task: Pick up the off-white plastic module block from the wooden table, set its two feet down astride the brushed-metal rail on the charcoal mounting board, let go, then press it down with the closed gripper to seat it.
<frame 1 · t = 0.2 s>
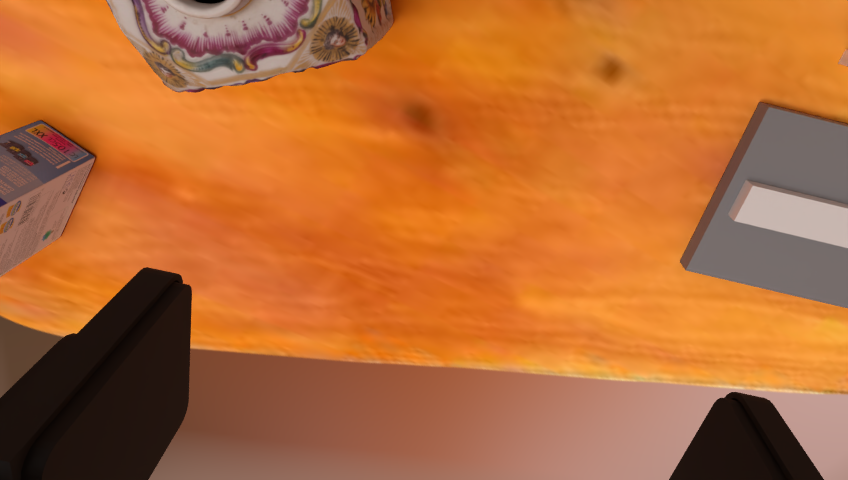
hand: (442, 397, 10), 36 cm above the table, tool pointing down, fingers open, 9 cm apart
ink cartridge box: (50, 178, 50), on the table
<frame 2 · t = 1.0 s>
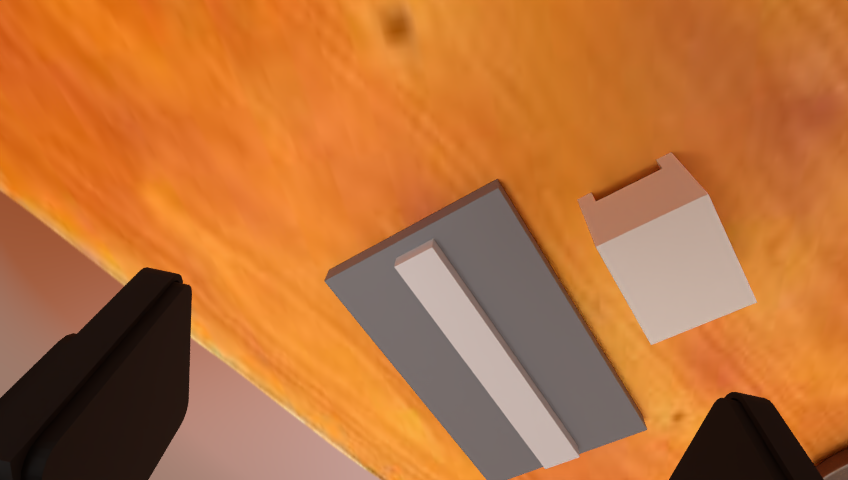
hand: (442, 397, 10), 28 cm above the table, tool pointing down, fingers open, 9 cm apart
rail board: (493, 346, 45), on the table
module: (647, 223, 39), on the table
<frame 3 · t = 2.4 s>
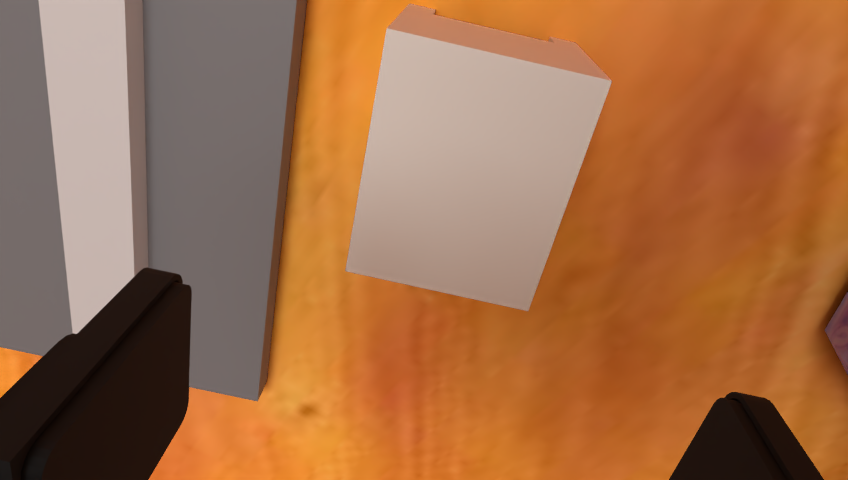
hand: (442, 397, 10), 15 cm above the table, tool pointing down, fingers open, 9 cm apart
rail board: (128, 140, 25), on the table
module: (467, 124, 24), on the table
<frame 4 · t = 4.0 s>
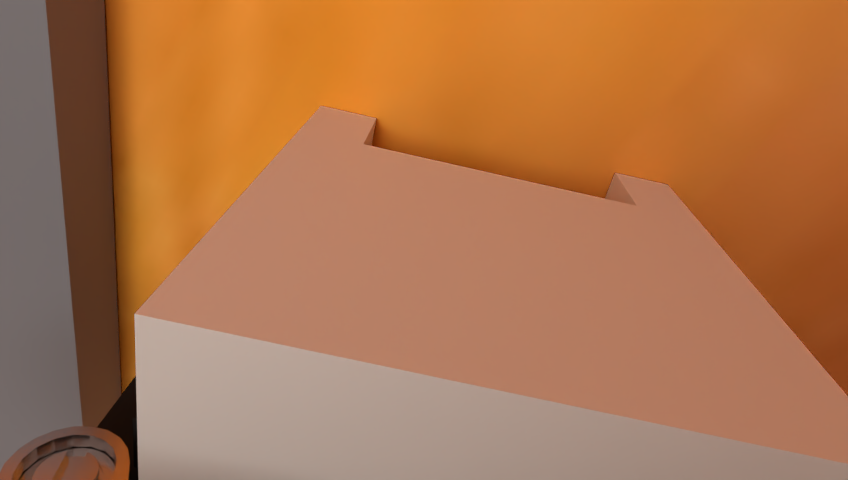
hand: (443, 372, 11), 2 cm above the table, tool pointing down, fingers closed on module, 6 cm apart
module: (446, 324, 12), on the table, touching gripper
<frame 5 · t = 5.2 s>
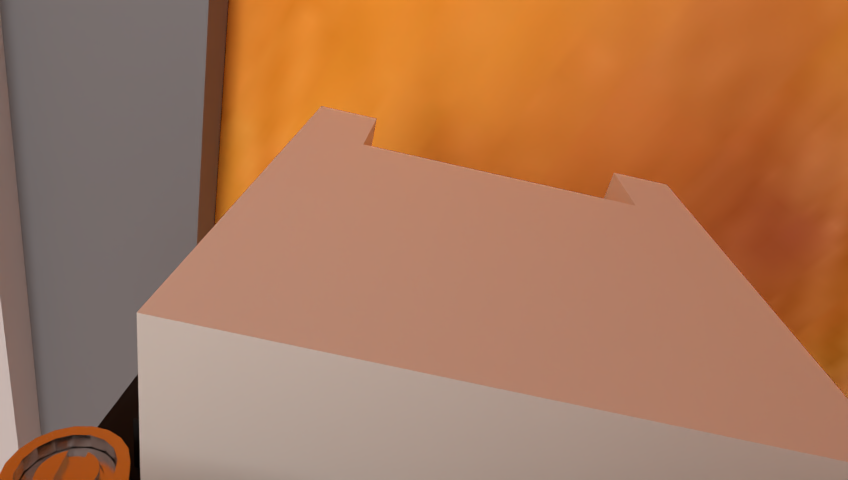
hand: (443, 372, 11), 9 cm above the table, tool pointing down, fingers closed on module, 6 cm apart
rail board: (9, 240, 20), on the table
module: (446, 323, 12), point 7 cm above the table, touching gripper
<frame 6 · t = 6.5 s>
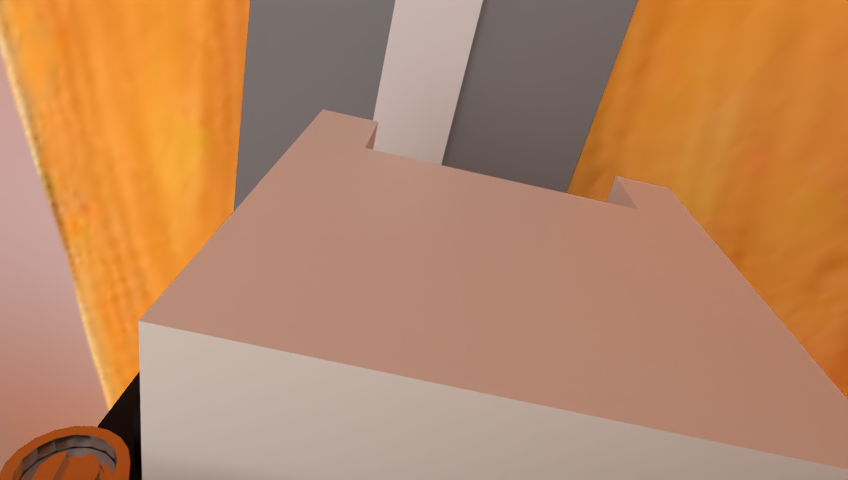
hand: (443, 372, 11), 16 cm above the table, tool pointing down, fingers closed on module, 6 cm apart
rail board: (413, 125, 25), on the table
module: (447, 326, 12), point 15 cm above the table, touching gripper
when the fingers open (4 cm above the table, at t = 9.5 s): module stays where it is, resting on rail board.
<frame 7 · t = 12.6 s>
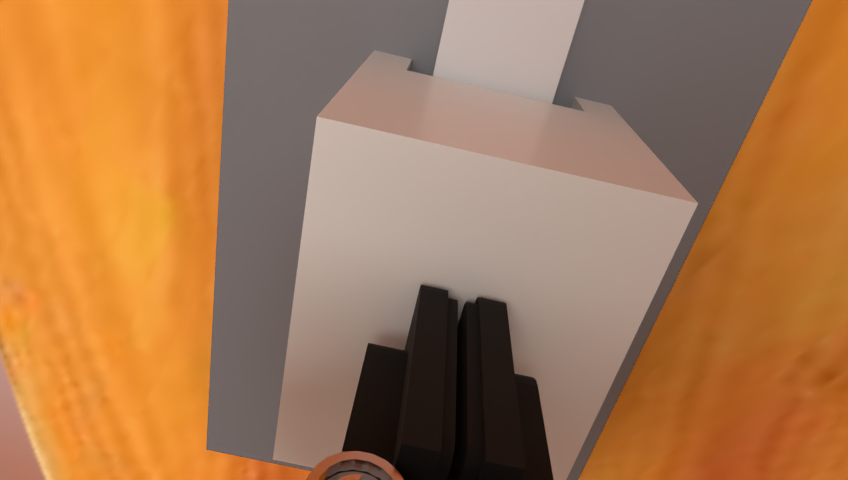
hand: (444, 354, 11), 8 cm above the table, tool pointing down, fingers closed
rail board: (456, 193, 18), on the table
module: (457, 212, 17), point 1 cm above the table, touching gripper, rail board
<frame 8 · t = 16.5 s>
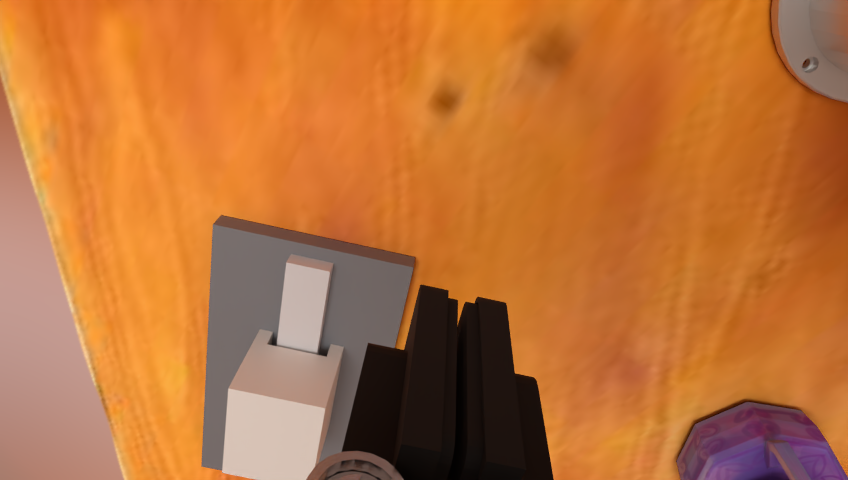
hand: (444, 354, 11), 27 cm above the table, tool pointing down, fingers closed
rail board: (300, 366, 46), on the table
lantern: (743, 446, 48), on the table
module: (296, 378, 45), point 1 cm above the table, touching rail board
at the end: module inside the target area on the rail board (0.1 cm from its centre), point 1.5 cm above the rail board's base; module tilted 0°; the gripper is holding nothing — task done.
